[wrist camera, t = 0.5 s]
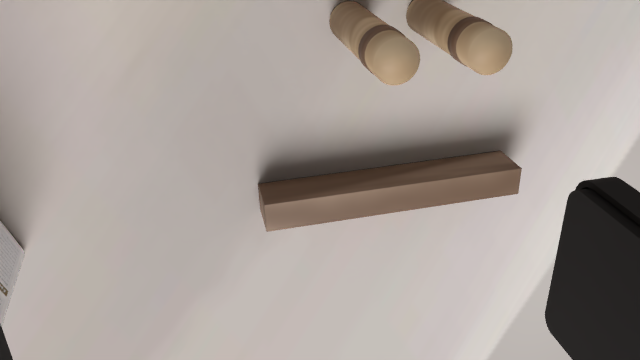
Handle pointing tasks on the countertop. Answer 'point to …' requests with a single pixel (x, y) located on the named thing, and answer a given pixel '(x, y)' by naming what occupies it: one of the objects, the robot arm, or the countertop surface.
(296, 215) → the back wall
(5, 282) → the syrup box
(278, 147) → the countertop surface
